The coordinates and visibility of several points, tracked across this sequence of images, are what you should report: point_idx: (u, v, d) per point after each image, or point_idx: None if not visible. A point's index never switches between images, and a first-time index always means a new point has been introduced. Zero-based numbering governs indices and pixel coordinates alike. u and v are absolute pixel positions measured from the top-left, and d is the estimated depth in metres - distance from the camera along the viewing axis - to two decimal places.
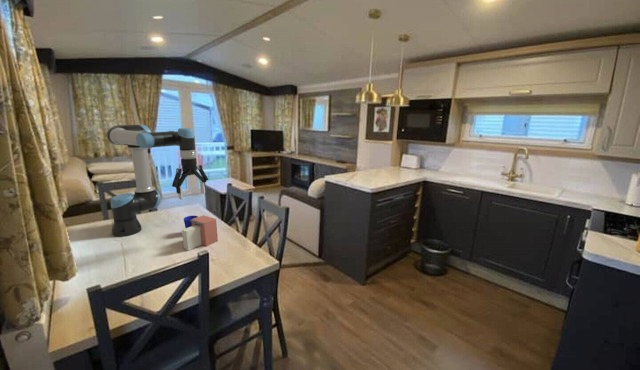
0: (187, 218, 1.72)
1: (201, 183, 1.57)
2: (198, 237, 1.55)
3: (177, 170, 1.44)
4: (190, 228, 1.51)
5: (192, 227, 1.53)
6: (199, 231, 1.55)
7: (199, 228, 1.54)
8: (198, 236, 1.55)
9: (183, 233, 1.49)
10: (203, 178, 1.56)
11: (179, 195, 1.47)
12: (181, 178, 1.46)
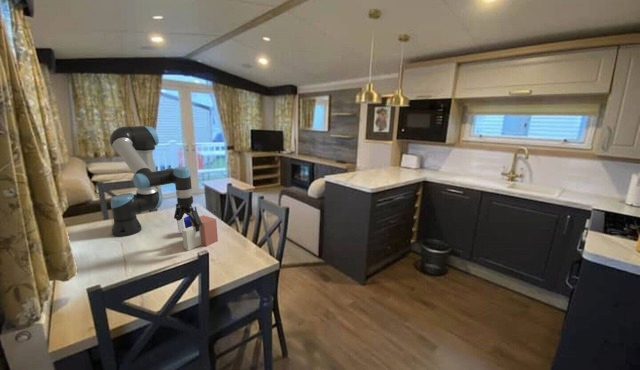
0: (187, 218, 1.72)
1: None
2: (198, 237, 1.55)
3: None
4: (190, 228, 1.51)
5: (192, 227, 1.53)
6: (199, 231, 1.55)
7: (199, 228, 1.54)
8: (198, 236, 1.55)
9: (183, 233, 1.49)
10: (193, 222, 1.44)
11: None
12: None
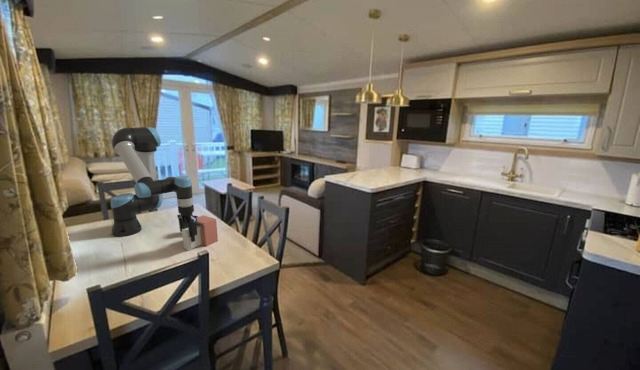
0: None
1: None
2: (198, 237, 1.55)
3: None
4: None
5: None
6: (199, 231, 1.55)
7: (199, 228, 1.54)
8: (198, 236, 1.55)
9: (183, 233, 1.49)
10: (190, 232, 1.48)
11: None
12: None
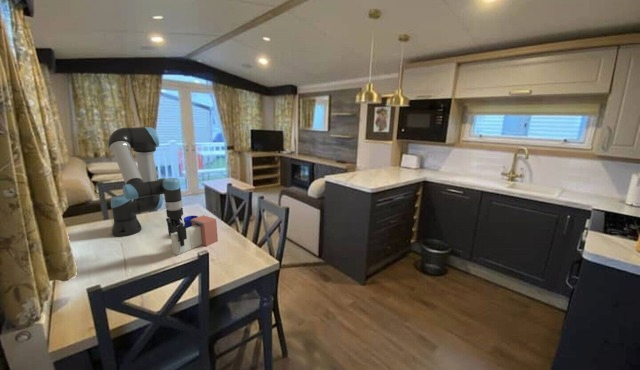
0: (187, 218, 1.72)
1: None
2: (188, 241, 1.49)
3: None
4: None
5: None
6: (189, 235, 1.49)
7: (189, 232, 1.49)
8: (188, 240, 1.49)
9: (172, 237, 1.44)
10: (179, 237, 1.43)
11: None
12: None
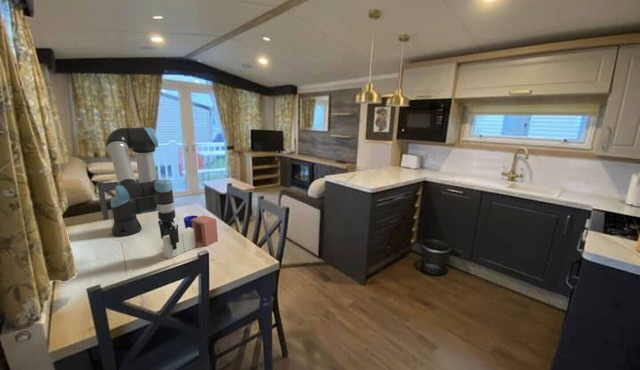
0: (187, 218, 1.72)
1: None
2: (180, 244, 1.46)
3: None
4: None
5: None
6: (181, 238, 1.46)
7: (181, 235, 1.46)
8: (181, 243, 1.46)
9: (164, 240, 1.40)
10: (171, 240, 1.39)
11: None
12: None
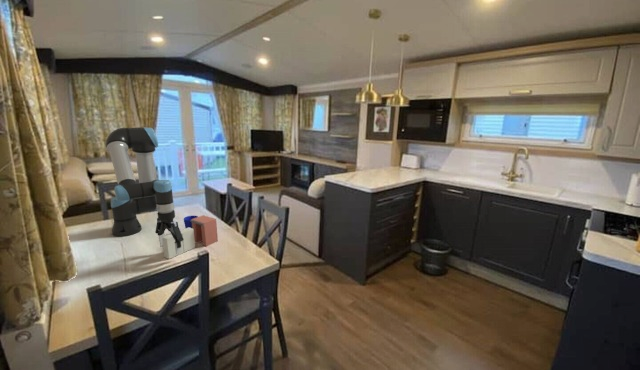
0: (187, 218, 1.72)
1: None
2: None
3: None
4: (171, 236, 1.42)
5: None
6: None
7: None
8: None
9: (163, 240, 1.40)
10: (174, 238, 1.37)
11: None
12: None
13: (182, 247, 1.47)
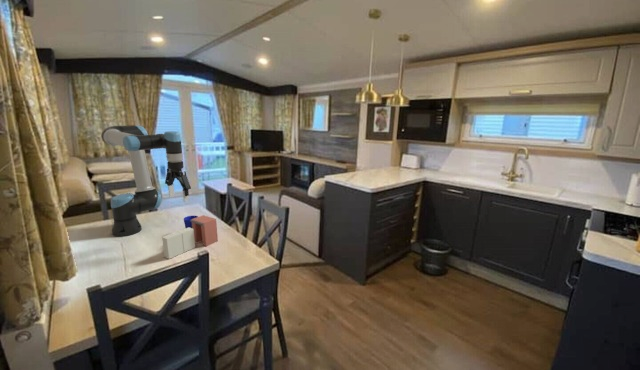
0: (187, 218, 1.72)
1: None
2: (180, 244, 1.46)
3: None
4: (171, 236, 1.42)
5: (173, 234, 1.44)
6: (181, 238, 1.46)
7: (181, 235, 1.45)
8: (180, 243, 1.46)
9: (163, 240, 1.40)
10: (183, 186, 1.47)
11: None
12: None
13: (182, 247, 1.47)
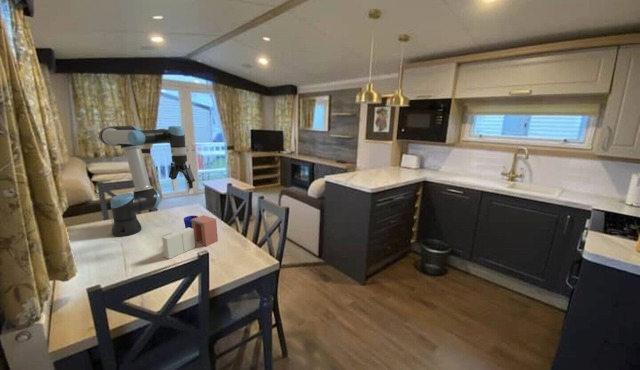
0: (187, 218, 1.72)
1: None
2: (180, 244, 1.46)
3: None
4: (171, 236, 1.42)
5: (173, 234, 1.44)
6: (181, 238, 1.46)
7: (181, 235, 1.45)
8: (180, 243, 1.46)
9: (163, 240, 1.40)
10: (187, 178, 1.51)
11: None
12: None
13: (182, 247, 1.47)
